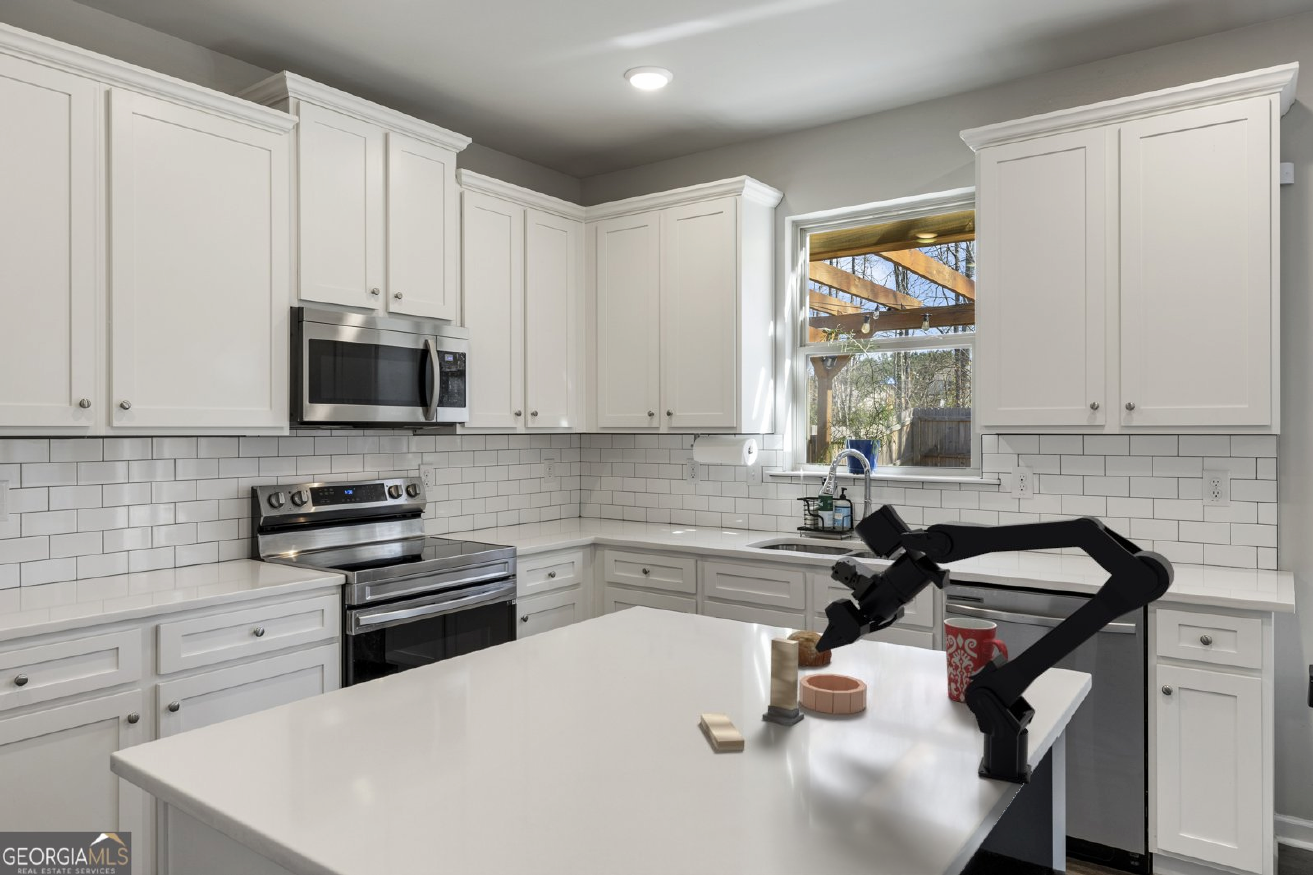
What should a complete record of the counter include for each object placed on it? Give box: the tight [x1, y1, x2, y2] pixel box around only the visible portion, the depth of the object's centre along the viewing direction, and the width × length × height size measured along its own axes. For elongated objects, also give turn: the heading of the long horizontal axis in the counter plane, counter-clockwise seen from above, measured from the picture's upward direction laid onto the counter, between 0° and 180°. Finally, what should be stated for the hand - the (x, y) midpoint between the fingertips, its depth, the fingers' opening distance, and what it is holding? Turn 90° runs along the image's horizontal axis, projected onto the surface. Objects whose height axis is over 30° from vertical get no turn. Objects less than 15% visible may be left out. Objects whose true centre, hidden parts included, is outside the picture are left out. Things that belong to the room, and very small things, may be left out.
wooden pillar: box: [761, 637, 805, 727], centre depth 137 cm, size 5×5×13 cm
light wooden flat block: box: [700, 712, 745, 751], centre depth 129 cm, size 12×4×2 cm, turn 9°
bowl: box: [798, 673, 868, 715], centre depth 146 cm, size 11×11×4 cm
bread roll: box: [786, 629, 833, 668], centre depth 174 cm, size 10×10×8 cm
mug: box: [943, 617, 1009, 704], centre depth 149 cm, size 13×9×14 cm
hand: (830, 644), depth 133 cm, fingers open, 9 cm apart
